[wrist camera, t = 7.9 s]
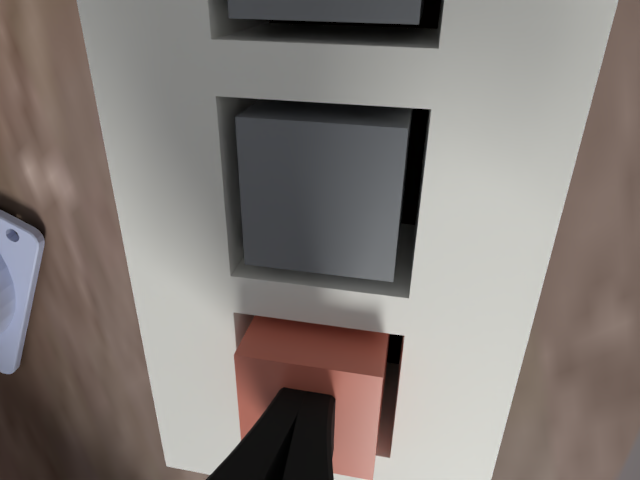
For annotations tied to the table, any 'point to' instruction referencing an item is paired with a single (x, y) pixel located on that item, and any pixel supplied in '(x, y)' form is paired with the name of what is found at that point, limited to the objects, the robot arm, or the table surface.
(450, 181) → the button panel
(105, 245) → the table surface
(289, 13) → the grey button
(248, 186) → the grey button
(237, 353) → the red button
